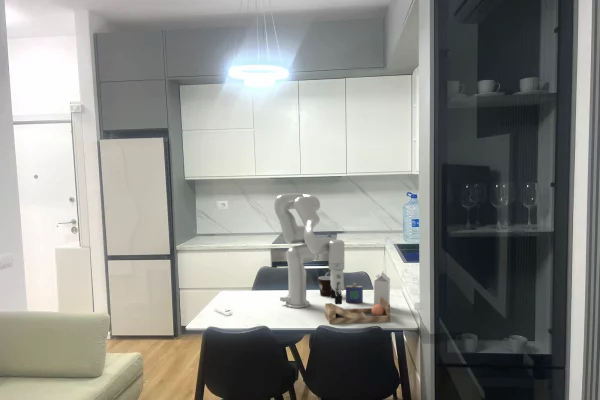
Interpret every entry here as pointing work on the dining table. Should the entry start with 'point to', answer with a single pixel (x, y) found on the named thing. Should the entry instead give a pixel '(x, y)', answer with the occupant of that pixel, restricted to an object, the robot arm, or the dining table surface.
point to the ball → (377, 310)
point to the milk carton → (381, 288)
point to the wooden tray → (356, 314)
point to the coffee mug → (325, 286)
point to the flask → (354, 294)
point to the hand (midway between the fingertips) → (336, 300)
